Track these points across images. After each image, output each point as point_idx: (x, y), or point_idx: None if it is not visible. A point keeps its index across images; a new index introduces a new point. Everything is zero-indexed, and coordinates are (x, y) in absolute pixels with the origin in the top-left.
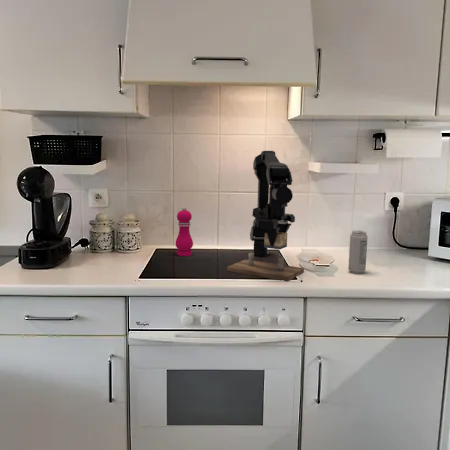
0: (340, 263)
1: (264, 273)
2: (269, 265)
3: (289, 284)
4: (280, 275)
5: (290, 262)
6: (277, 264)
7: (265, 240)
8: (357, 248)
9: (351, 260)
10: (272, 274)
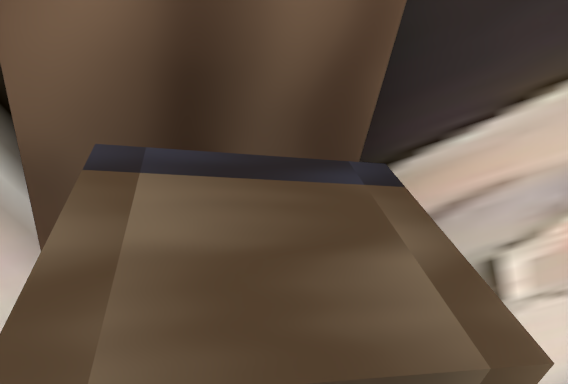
0: (540, 323)
1: (10, 106)
2: (304, 50)
3: (3, 287)
4: (47, 235)
5: (550, 118)
6: (364, 103)
7: (56, 252)
8: None
9: None
10: (27, 179)
